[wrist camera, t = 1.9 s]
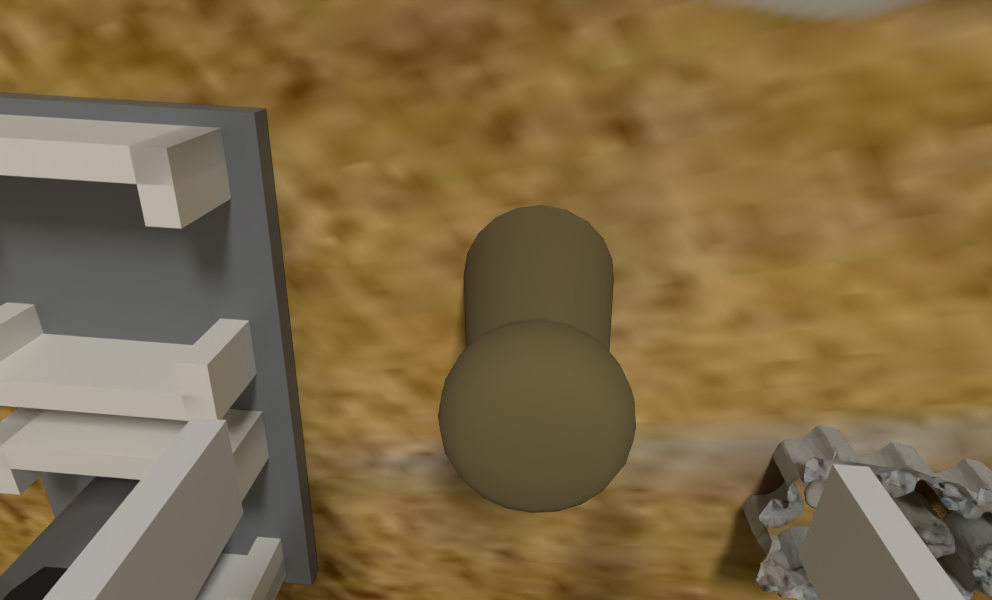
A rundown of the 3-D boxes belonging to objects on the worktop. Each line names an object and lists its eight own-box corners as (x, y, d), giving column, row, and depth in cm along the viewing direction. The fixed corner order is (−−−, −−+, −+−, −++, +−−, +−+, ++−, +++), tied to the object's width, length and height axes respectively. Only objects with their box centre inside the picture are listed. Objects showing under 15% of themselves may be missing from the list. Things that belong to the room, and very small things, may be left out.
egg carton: (721, 520, 30) (746, 593, 26) (797, 400, 27) (838, 464, 23) (921, 576, 30) (972, 654, 27) (1019, 466, 27) (1093, 538, 24)
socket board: (265, 108, 22) (134, 155, 15) (318, 569, 33) (255, 727, 26) (-73, 88, 23) (-355, 124, 16) (84, 548, 33) (-42, 696, 26)
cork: (489, 356, 26) (457, 565, 16) (443, 228, 24) (374, 383, 14) (627, 324, 25) (682, 529, 15) (595, 187, 23) (635, 323, 13)
